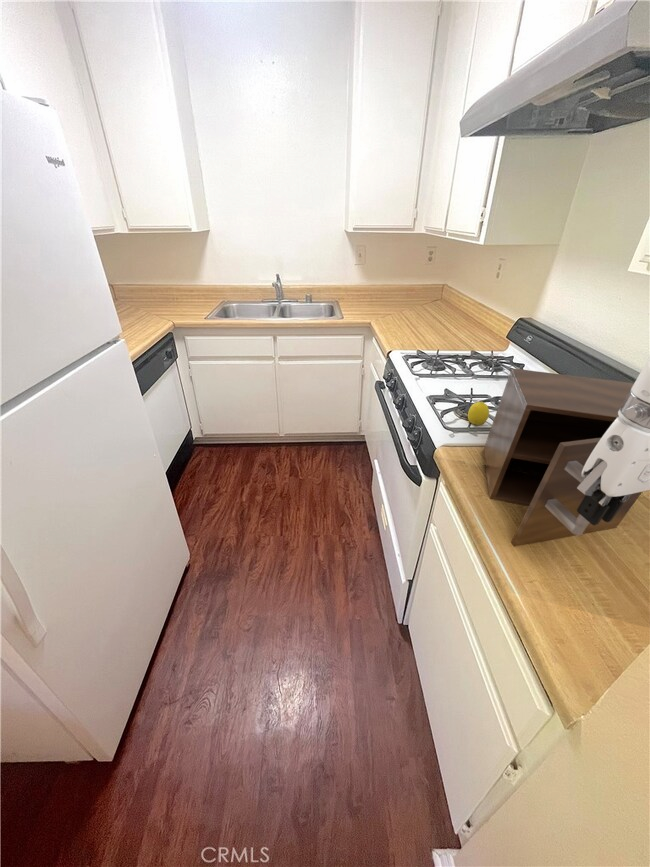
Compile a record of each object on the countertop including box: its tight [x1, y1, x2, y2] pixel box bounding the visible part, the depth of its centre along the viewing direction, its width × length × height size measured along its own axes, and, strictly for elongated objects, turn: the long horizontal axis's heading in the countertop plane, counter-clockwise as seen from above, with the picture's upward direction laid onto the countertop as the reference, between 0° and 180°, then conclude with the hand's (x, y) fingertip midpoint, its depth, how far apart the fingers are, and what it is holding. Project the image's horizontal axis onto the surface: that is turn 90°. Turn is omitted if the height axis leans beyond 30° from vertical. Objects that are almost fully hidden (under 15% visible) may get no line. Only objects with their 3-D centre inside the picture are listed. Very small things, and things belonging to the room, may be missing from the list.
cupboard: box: [483, 368, 635, 508], centre depth 75 cm, size 18×24×24 cm
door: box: [510, 438, 643, 547], centre depth 59 cm, size 8×24×24 cm, turn 102°
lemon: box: [467, 401, 490, 426], centre depth 101 cm, size 6×6×8 cm
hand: (593, 516), depth 53 cm, fingers closed on door
